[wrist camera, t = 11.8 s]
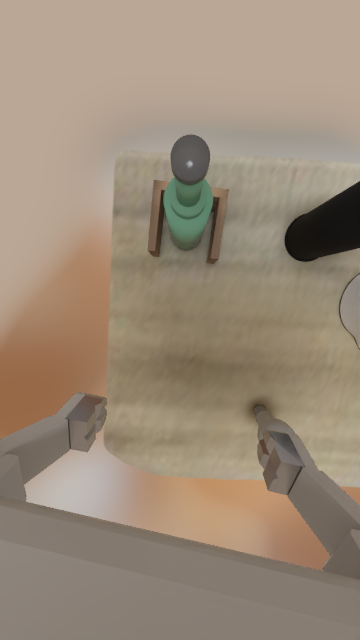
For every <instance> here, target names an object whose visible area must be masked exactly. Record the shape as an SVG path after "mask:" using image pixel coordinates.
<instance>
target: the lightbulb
mask: <svg viewBox="0 0 360 640" xmlns="http://www.w3.org/2000/svg"><path fill="white" fill-rule="evenodd" d="M254 414H255V416H256V420H257V422H258V440H259V441H260V440H262V439H263V436H262V432H263V430H264V429H269V430H275V431H280V432H285V433H291V434H295V432H294V431H293V429H292V428H291V427H290V426H289V425H288V424H287V423H285V422H283V421H281V420H279V419H277V418H274V417H273V416H272V415H271V413H269V412H268V411H267V410H266V409H265V407H263V406H257V407H255V409H254Z"/></svg>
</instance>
